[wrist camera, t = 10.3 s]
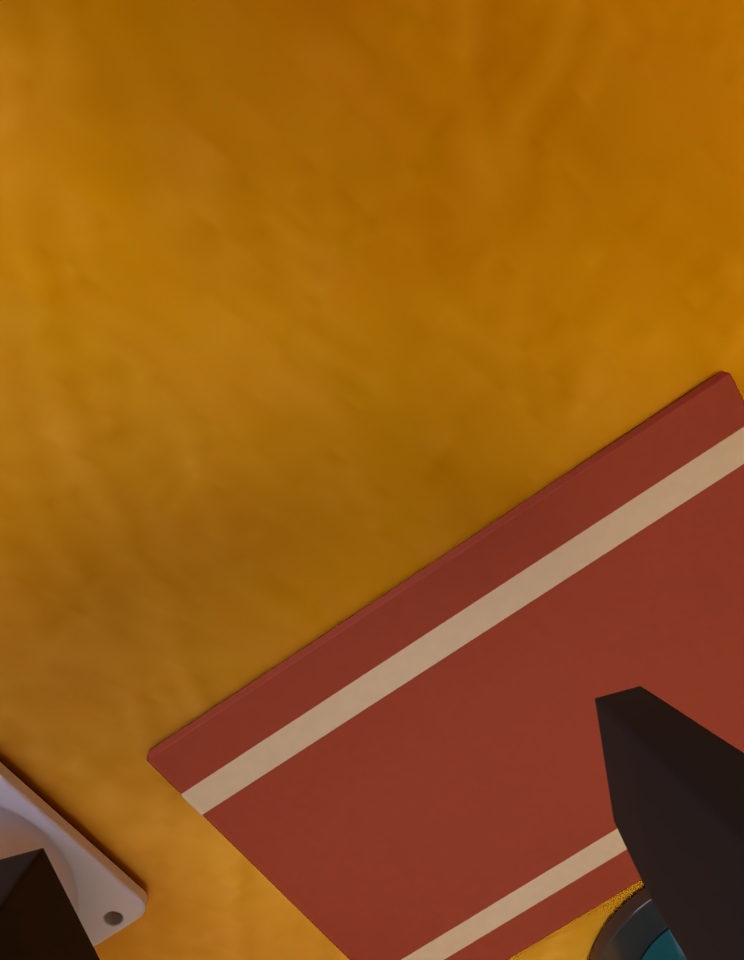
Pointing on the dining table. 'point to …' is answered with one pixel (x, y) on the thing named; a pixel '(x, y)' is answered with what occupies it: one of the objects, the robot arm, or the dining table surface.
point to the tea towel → (490, 705)
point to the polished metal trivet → (630, 930)
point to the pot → (664, 949)
